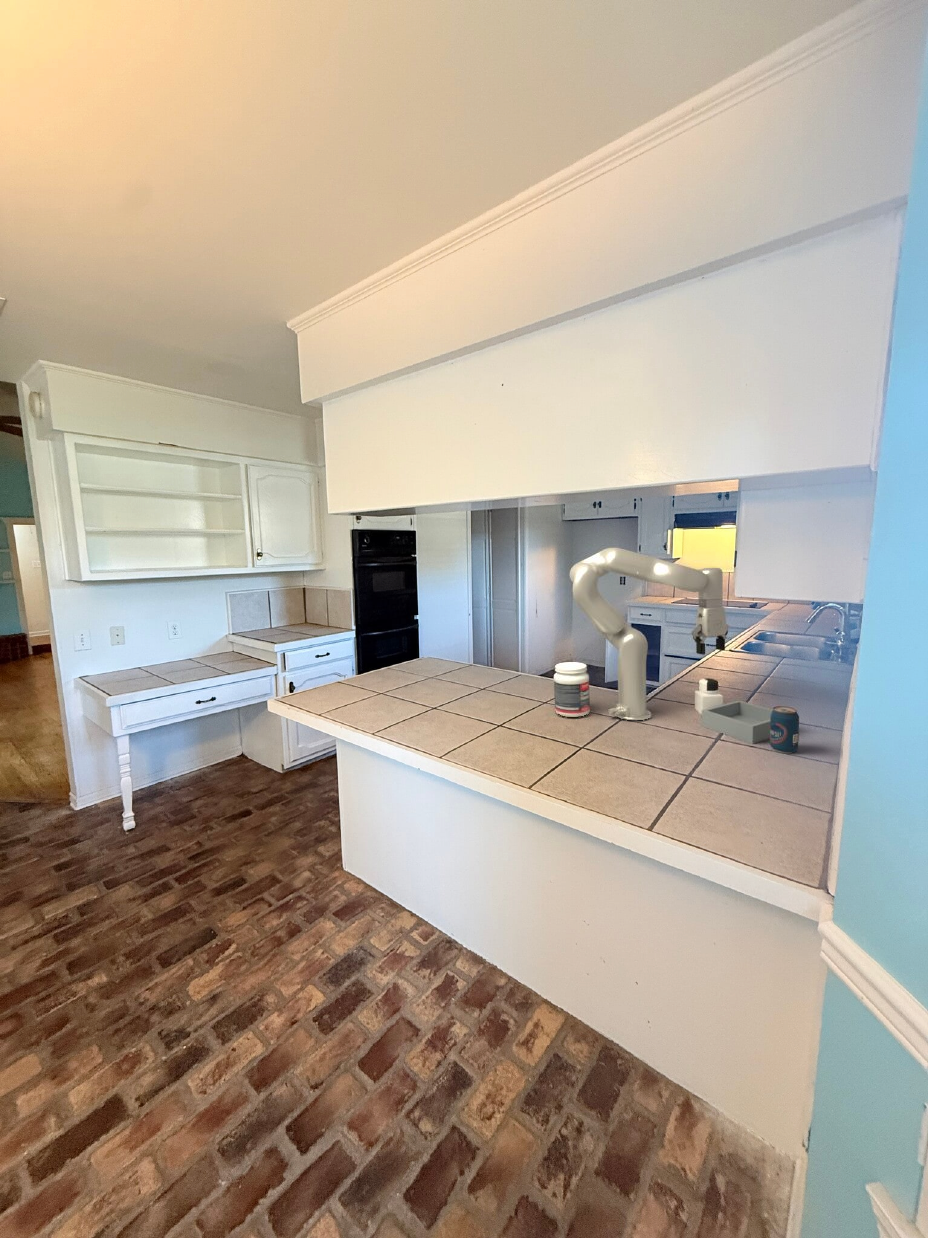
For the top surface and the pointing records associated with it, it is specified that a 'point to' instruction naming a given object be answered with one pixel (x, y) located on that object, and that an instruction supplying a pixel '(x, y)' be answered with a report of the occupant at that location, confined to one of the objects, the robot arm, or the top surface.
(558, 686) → the supplement tub
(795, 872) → the top surface
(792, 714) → the soda can
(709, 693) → the medicine bottle
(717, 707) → the bin
